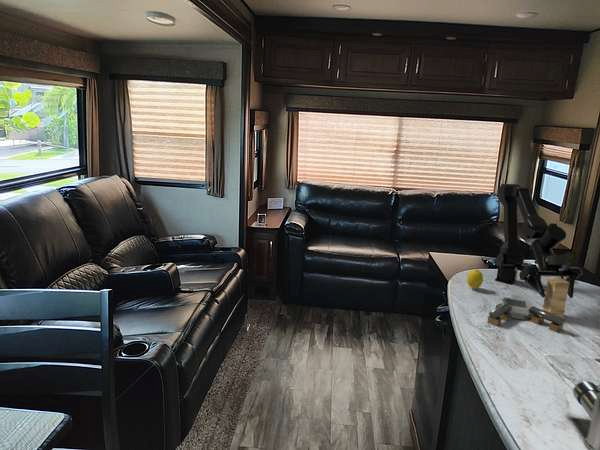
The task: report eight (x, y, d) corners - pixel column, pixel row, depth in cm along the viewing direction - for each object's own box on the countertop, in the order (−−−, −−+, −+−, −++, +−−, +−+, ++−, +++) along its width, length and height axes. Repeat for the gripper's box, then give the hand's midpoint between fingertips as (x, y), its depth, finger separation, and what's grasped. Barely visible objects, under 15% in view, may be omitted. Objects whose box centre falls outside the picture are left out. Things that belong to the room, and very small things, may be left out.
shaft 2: (526, 319, 145) (529, 307, 144) (533, 317, 146) (535, 305, 145) (557, 332, 136) (559, 319, 135) (563, 330, 138) (565, 317, 137)
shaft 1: (502, 314, 148) (504, 302, 147) (511, 318, 145) (513, 305, 144) (486, 322, 142) (488, 309, 141) (496, 326, 139) (498, 313, 138)
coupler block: (541, 312, 151) (547, 277, 148) (555, 312, 151) (561, 277, 148) (549, 318, 146) (555, 282, 144) (563, 318, 147) (569, 282, 144)
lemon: (479, 286, 173) (481, 267, 171) (483, 292, 167) (486, 271, 166) (464, 285, 173) (466, 266, 171) (468, 291, 168) (470, 270, 166)
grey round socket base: (494, 302, 158) (495, 294, 157) (531, 308, 154) (533, 299, 153) (496, 316, 146) (498, 307, 146) (537, 322, 143) (539, 313, 142)
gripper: (528, 242, 147) (542, 286, 139) (584, 244, 148) (600, 287, 139) (513, 258, 157) (525, 300, 148) (565, 259, 157) (580, 301, 149)
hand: (557, 297), depth 146 cm, fingers open, 9 cm apart
